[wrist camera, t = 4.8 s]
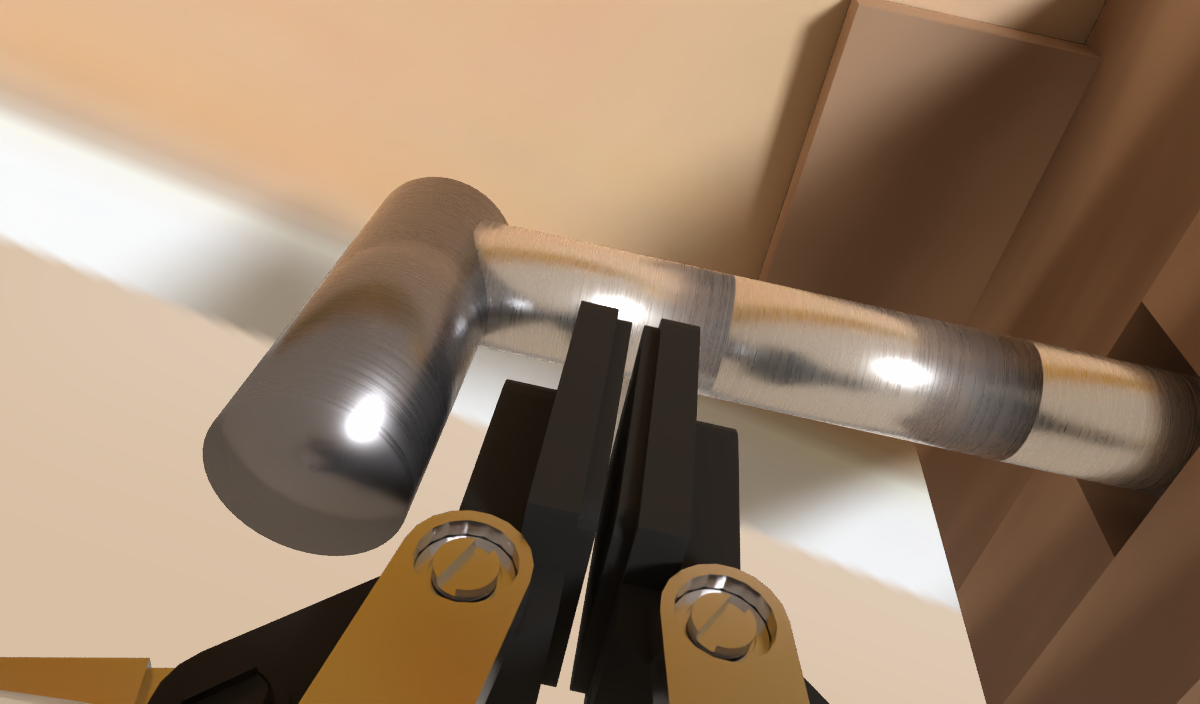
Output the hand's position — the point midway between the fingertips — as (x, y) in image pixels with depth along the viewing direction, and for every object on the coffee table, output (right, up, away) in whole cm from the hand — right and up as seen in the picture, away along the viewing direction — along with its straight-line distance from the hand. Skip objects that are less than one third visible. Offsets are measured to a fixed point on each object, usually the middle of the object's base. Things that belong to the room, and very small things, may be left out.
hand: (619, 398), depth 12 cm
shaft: (+6, +1, +3) cm, 6 cm away
